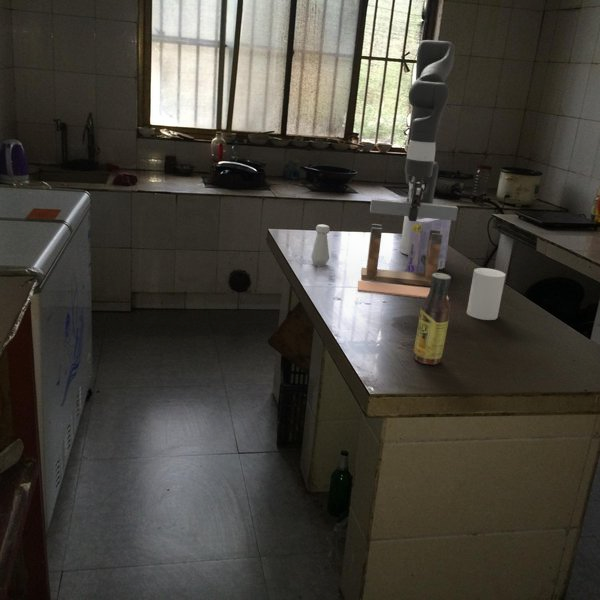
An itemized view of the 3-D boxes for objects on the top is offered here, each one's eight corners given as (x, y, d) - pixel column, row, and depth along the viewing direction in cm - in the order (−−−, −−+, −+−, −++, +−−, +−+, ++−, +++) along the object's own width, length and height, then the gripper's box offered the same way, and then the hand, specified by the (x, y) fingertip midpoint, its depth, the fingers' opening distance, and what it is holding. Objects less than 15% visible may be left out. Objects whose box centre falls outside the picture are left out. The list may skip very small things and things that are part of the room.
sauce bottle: (409, 354, 146) (422, 269, 140) (436, 355, 147) (450, 271, 141) (417, 366, 140) (430, 278, 134) (445, 367, 141) (459, 280, 134)
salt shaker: (329, 262, 214) (332, 224, 210) (328, 267, 209) (331, 228, 205) (311, 261, 215) (314, 222, 210) (309, 265, 209) (313, 226, 205)
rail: (454, 218, 185) (456, 206, 184) (455, 220, 182) (457, 208, 181) (370, 210, 186) (371, 198, 185) (370, 212, 183) (371, 199, 182)
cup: (498, 312, 179) (506, 271, 175) (496, 322, 172) (504, 278, 168) (468, 307, 181) (475, 266, 178) (465, 316, 174) (472, 273, 170)
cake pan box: (434, 264, 223) (441, 213, 218) (447, 268, 220) (455, 216, 214) (403, 273, 209) (411, 219, 204) (417, 277, 206) (425, 223, 200)
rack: (436, 279, 205) (444, 230, 200) (439, 287, 198) (447, 236, 193) (361, 272, 207) (366, 222, 202) (361, 279, 199) (367, 228, 194)
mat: (444, 290, 195) (444, 289, 194) (448, 300, 186) (448, 298, 186) (358, 282, 196) (358, 280, 196) (358, 291, 188) (358, 289, 187)
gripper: (436, 162, 172) (427, 226, 177) (431, 156, 185) (422, 216, 191) (408, 159, 172) (400, 223, 178) (405, 154, 186) (397, 213, 191)
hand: (412, 219), depth 184 cm, fingers closed on rail, 3 cm apart
